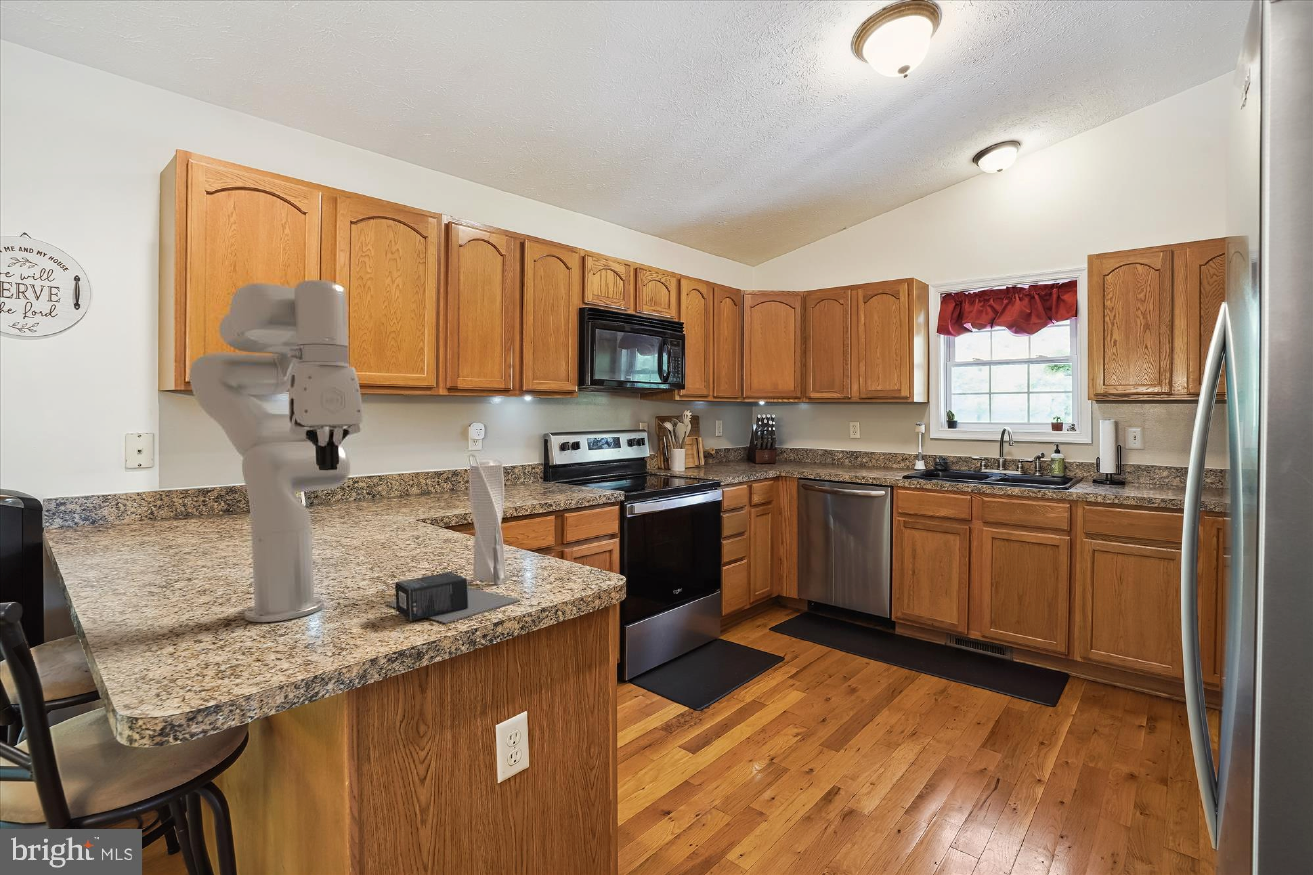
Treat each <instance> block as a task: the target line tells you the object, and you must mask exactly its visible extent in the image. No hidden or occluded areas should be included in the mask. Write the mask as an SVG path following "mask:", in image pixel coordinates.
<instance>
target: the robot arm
mask: <svg viewBox="0 0 1313 875" xmlns="http://www.w3.org/2000/svg"><path fill="white" fill-rule="evenodd" d="M346 292H347V291H346V289H345V288H344V287H343V285H341V284H339V283H336V282H333V281H328V280H318V279H317V280H316V279H315V280H314V279H308V280H303V281H300V282H299V283H297V284H296V285H295V287H292V286H287V285H280V284H272V283H271V284H270V283H262V282H261V283H259V282H258V283H257V282H255V283H249V284H246V285H244V286H241V287H240V288H238V289H237V290H236V291H235V292H234V294H233V295H232V297H231V301H230V306H229V312H228V313H227V314H226V315H224V317H222V319H221V321H220V323H219V326H218V329H219V330H218V332H219V336H220V338H221V339H222V340H223V342H224V343H225V344H226V345H228V346H229V347H230V348H232V349H234V350H237V351H240V352H245V353H237V352H213V353H208V354H204V355H201V356H199V357H197V358H196V359H195V360H194V361H193V362H192V364H191V365H190V369H189V381H190V386H191V390H192V393H193V396H194V398H195V400H196V401H197V403H198V405H199V406H200V408H201V409H202V410H203V411H204V412H205V413H206V414H207V416H209V418H211V419H212V420H214V421H215V423H217V424H218V425H219V426H220V427H221V429H222V431H223V432H224V433H225V434H226V437H227V438H228V440H229V441H230V442H231V444H232V446H233V447H234V449H235V450H236V452H237V453H238V454H239V455H240V457H242V462H241V472H242V475H243V481H244V485H245V489H246V492H247V497H248V506H249V513H250V514H249V516H250V532H251V551H252V553H251V554H252V576H253V577H252V578H253V597H254V598H253V599H254V602H253V603H254V605H253V606H251V607H249V608H248V609H246V610H245V611H244V619H245V620H246V621H248V622H251V623H271V622H280V621H287V620H293V619H297V618H301V617H304V616H305V617H306V616H309V615H311V614H314V613H316V612H318V611H320V610H322V609H323V607H324V606H325V603H324V599H323V598H321V597H317V596H315V584H314V583H315V582H314V581H315V580H314V564H313V562H314V558H313V536H312V535H313V534H312V532H313V531H312V518H311V517H312V516H311V514H310V511H309V509H308V508H307V507H306V506H305V505H304V503H302V501H301V500H299V498H298V497H297V496H296V494H299V493H304V492H314V491H323V490H331V489H336V488H339V487H341V486H342V485H344V484H345V483H346V482H347V480H348V478H349V476H350V473H351V464H350V463H351V462H350V458H349V455H348V454H347V452H346V450H345V447H344V446H343V445H342V442H343V441H344V440H345V439H346V438H347V437H348V436H350V435H354V434H358V433H360V432H361V426H360V424H361V423H363V419H364V418H363V417H364V415H363V412H364V411H363V401H362V395H361V394H362V393H361V389H360V384H359V379H358V375H357V371H356V369H355V367H353V366H350V354H349V352H350V349H349V326H348V303H347V293H346ZM250 353H251V354H250ZM252 353H253V354H252ZM255 353H258V354H255ZM260 353H261V354H260ZM270 354H272V355H270ZM288 390H289V393H288V413H273V412H270V411H269V409H268V408H267V406H265V404H264V403H262V402H261V401H260V400H258V398H255V397H254V396H251V395H259V396H260V395H261V396H262V395H266V396H267V395H268V396H269V395H270V396H271V395H273V396H276V395H281V394H284V393H286V392H287V391H288Z"/></svg>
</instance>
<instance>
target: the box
mask: <svg viewBox="0 0 1313 875" xmlns="http://www.w3.org/2000/svg"><path fill="white" fill-rule="evenodd" d="M468 585H469V582H468V579H467V578H466V577H463V576H461V575H458V574H456V573H455V572H453V571H447V572H442V573H436V574H432V575H426V576H421V577H415V578H411V579H406V580H400V581H395V585H394V586H395V588H394V589H395V592H394V593H395V601H396V608H395V609H396V612H397V613H399V614H400V615H401V616H403V617H405V618H407V619H408V620H409V621H410V622H413V621H417V620H422V619H427V617H431V616H436V615H440V614H445V613H449V612H453V611H458V610H462V609H466V608H468V587H469V586H468Z"/></svg>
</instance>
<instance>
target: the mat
mask: <svg viewBox="0 0 1313 875" xmlns="http://www.w3.org/2000/svg"><path fill="white" fill-rule="evenodd" d="M519 602H521V599H517V598H515V597H509V596H505V595H502V594H498V593H493V592H491V591H490V592H489V591H486V590H482V589H478V588H473V587H469V586H468V608H466V609H462V610H458V611H453V612H449V613H445V614H440V615H436V616H431V617H427V618H430V619H433V620H436V621H435V622H437V621H439V622H438V623H440V622H442V623H441V624H443V623H445V624H444V625H447V623H448V624H450V623H449V622H451V623H454V622H453V621H455V620H458V621H460V619H461V618H464V619H466V618H465V617H468V616H471V617H474V616H475V615H474V614H477V615H480V613H481V614H484V613H486V612H490V611H493V610H497V609H500V608H503V607H506V606H510V605H513V604H516V603H519ZM386 604H387V605H389V606H393V607H394V608H393V609H396V600H395V601H391V602H388V603H386ZM389 606H388V607H389ZM483 612H484V613H483ZM473 615H474V616H473ZM427 618H426V619H427ZM468 618H469V617H468ZM430 619H429V620H430ZM433 620H432V621H433ZM461 620H462V619H461ZM455 622H456V621H455Z"/></svg>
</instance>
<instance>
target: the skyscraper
mask: <svg viewBox="0 0 1313 875" xmlns="http://www.w3.org/2000/svg"><path fill="white" fill-rule="evenodd" d="M472 458H474V459H475V463H476V464H473V463H472ZM468 462H469V483H468V484H469V485H468V486H469V488H468V489H469V503H470V504H469V505H470V511H471V517H472V522H473V523H472V524H473V526H474V529H475V530H474V531H475V533H474V543H473V544H474V547H473V570H472V571H473V573H472V576H473V577H472V582H475V581H479V582H494V584H491V585H490V586H502V585H503V584H504V582H505V583H506V582H508V581H509V580H511V579H512V578H514V576H513V575H510V576H509V575H507V567H506V566H507V565H506V557H505V555H506V554H505V548H504V547H505V546H504V541H503V540H504V539H503V533H502V529H501V525H502V524H501V523H502V520H503V515H504V514H503V513H504V506H505V480H504V467H503V463H502V462H501V460H498V459H497V460H496V459H495V460H478V458H477V456H475V454H473V453H470V454H469V455H468ZM510 578H511V579H510ZM507 580H508V581H507ZM502 583H503V584H502Z"/></svg>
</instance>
